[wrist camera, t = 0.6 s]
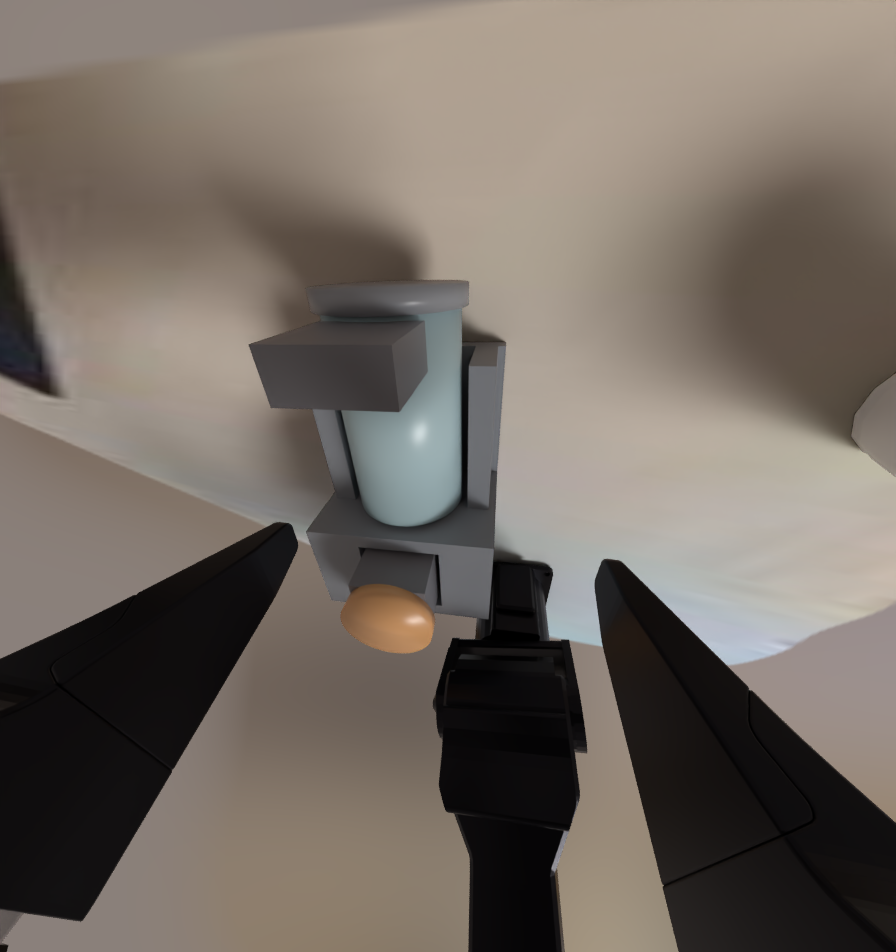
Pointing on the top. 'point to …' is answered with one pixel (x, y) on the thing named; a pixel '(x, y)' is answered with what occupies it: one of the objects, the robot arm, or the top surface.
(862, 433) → the foam cup
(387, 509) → the cartridge
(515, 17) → the top surface
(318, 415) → the housing
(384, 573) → the plunger
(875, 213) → the top surface
